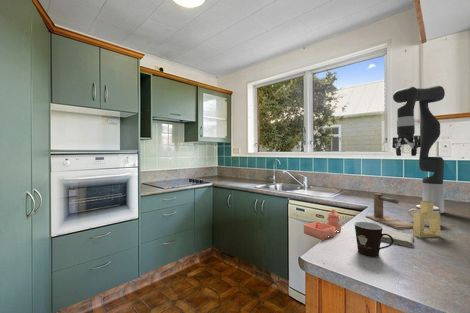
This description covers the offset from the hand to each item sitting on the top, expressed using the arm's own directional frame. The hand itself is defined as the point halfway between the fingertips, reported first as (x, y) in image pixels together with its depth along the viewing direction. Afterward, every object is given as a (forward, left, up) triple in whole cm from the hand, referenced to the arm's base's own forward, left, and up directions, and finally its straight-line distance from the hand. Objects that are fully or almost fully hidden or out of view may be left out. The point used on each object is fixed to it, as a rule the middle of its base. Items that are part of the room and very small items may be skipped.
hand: (405, 155), depth 118 cm
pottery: (+54, +11, -35) cm, 65 cm away
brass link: (+13, +22, -35) cm, 43 cm away
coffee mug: (+50, +34, -35) cm, 70 cm away
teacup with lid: (-3, +7, -35) cm, 36 cm away
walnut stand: (+13, +4, -35) cm, 37 cm away
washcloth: (+31, +21, -36) cm, 52 cm away
